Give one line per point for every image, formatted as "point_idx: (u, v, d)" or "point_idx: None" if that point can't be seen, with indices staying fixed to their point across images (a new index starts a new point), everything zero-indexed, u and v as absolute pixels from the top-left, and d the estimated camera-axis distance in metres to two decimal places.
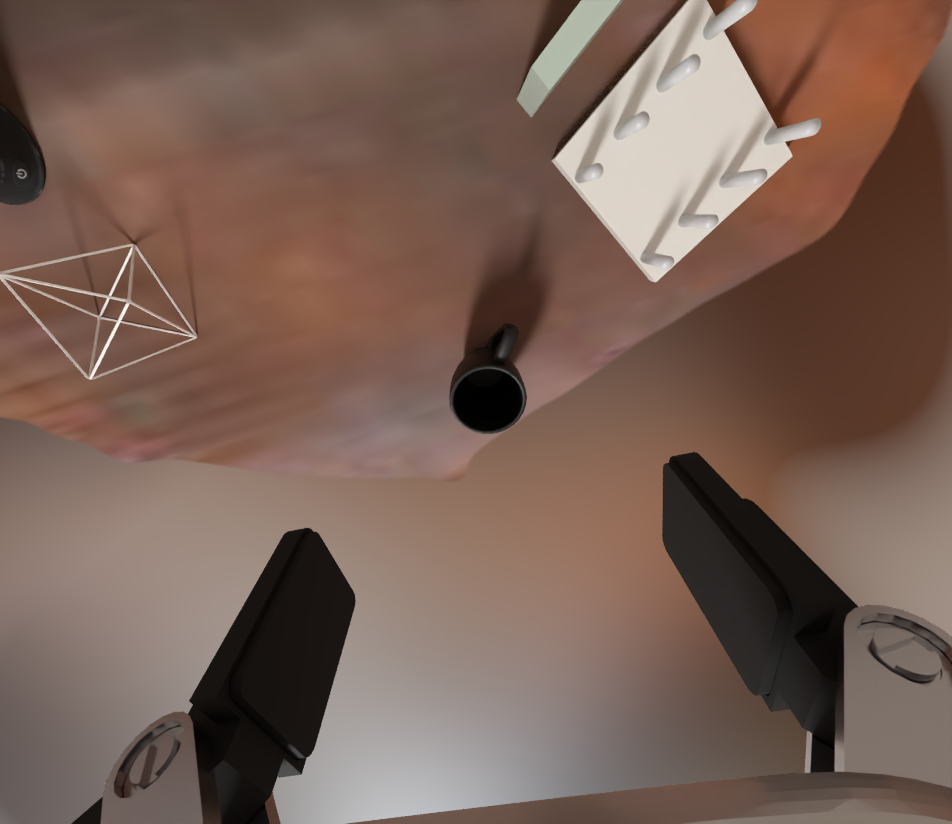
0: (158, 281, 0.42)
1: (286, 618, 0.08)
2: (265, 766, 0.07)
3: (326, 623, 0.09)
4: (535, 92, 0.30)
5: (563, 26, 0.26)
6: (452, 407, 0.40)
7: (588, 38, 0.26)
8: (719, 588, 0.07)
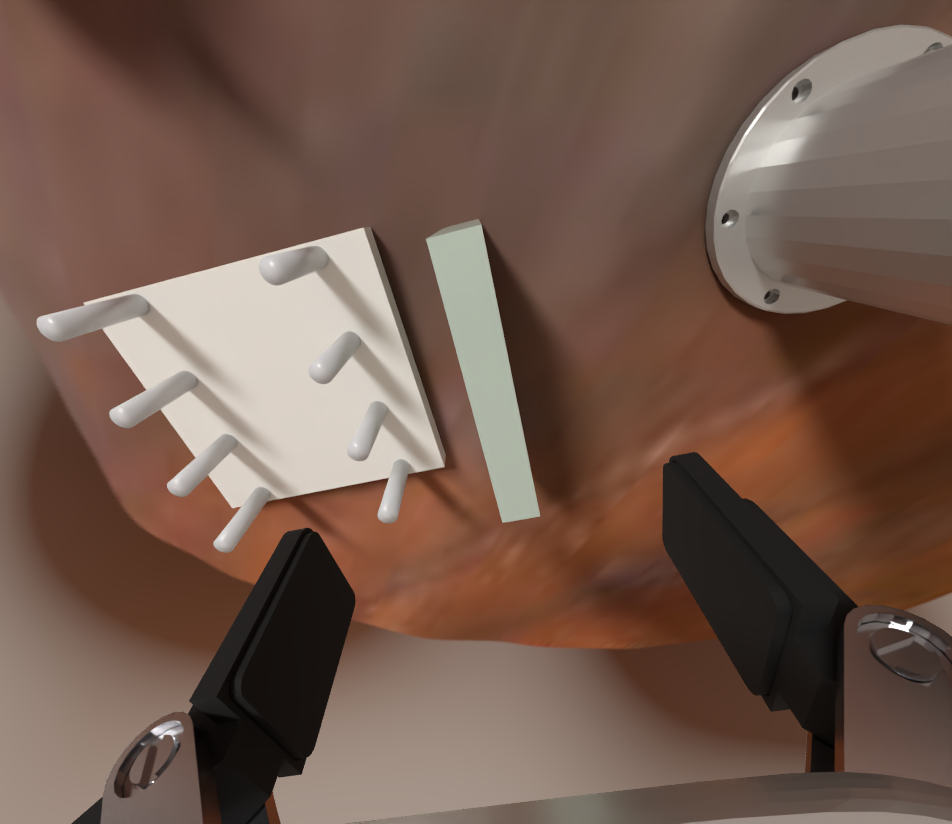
0: None
1: (286, 618, 0.08)
2: (265, 766, 0.07)
3: (326, 623, 0.09)
4: (453, 228, 0.16)
5: (495, 310, 0.14)
6: None
7: (456, 340, 0.15)
8: (719, 588, 0.07)
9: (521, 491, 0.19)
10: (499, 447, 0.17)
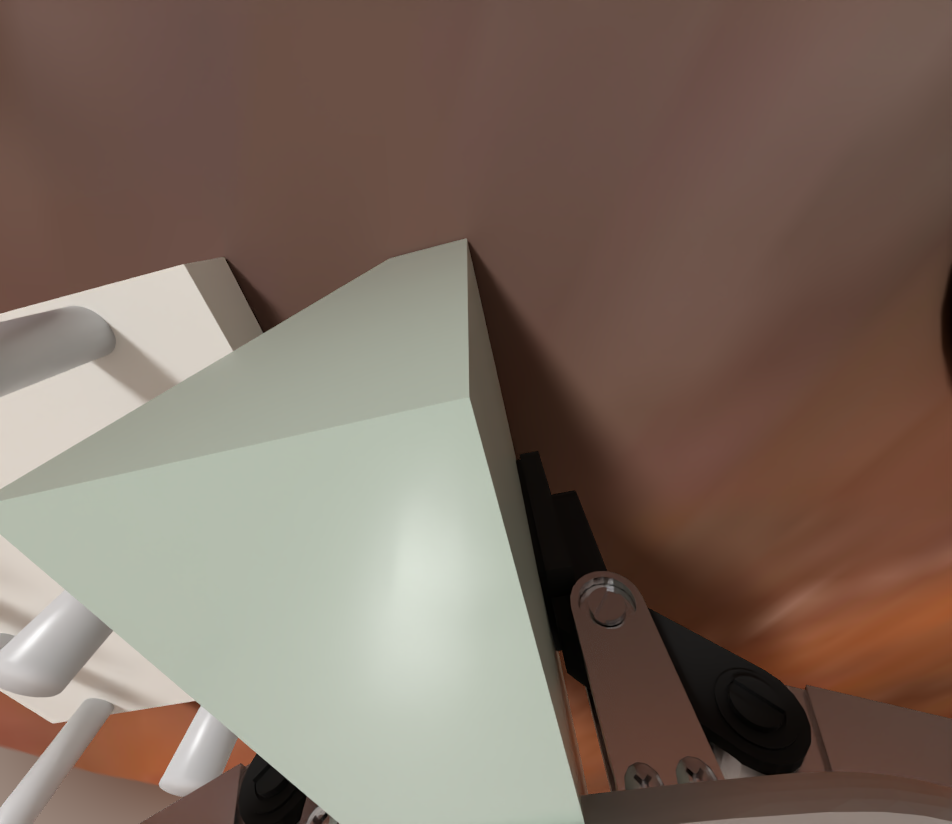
0: None
1: None
2: None
3: None
4: (363, 298, 0.04)
5: (554, 766, 0.03)
6: None
7: None
8: None
9: None
10: None
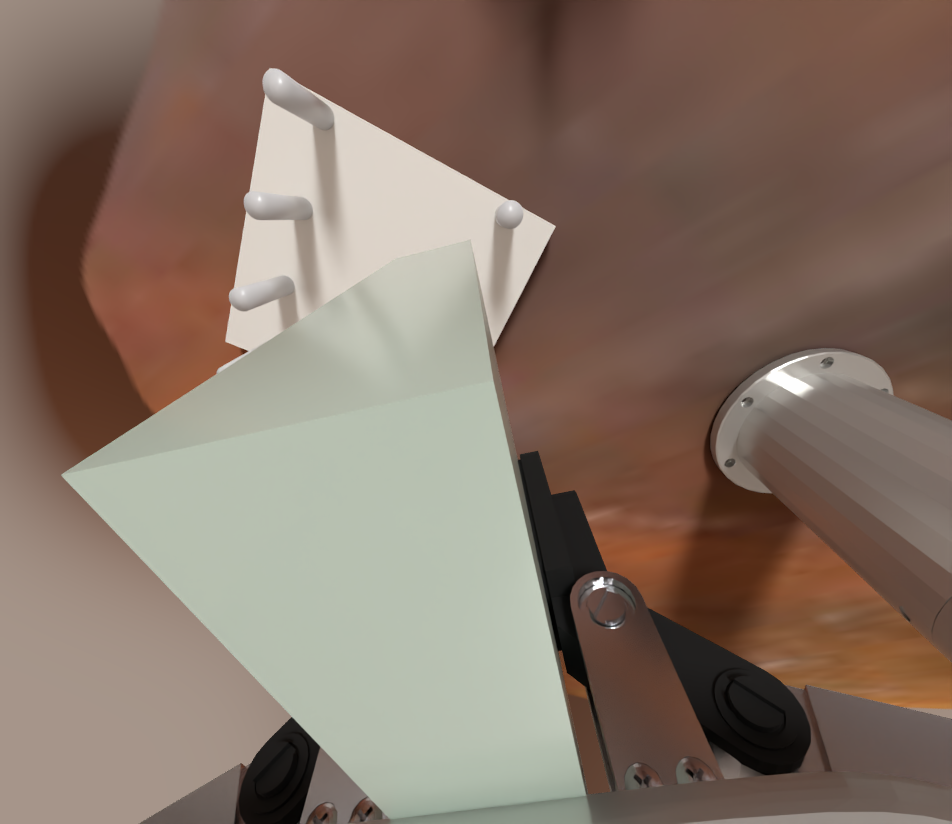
0: None
1: None
2: None
3: None
4: (377, 297, 0.04)
5: (557, 727, 0.03)
6: None
7: (377, 791, 0.03)
8: None
9: None
10: None
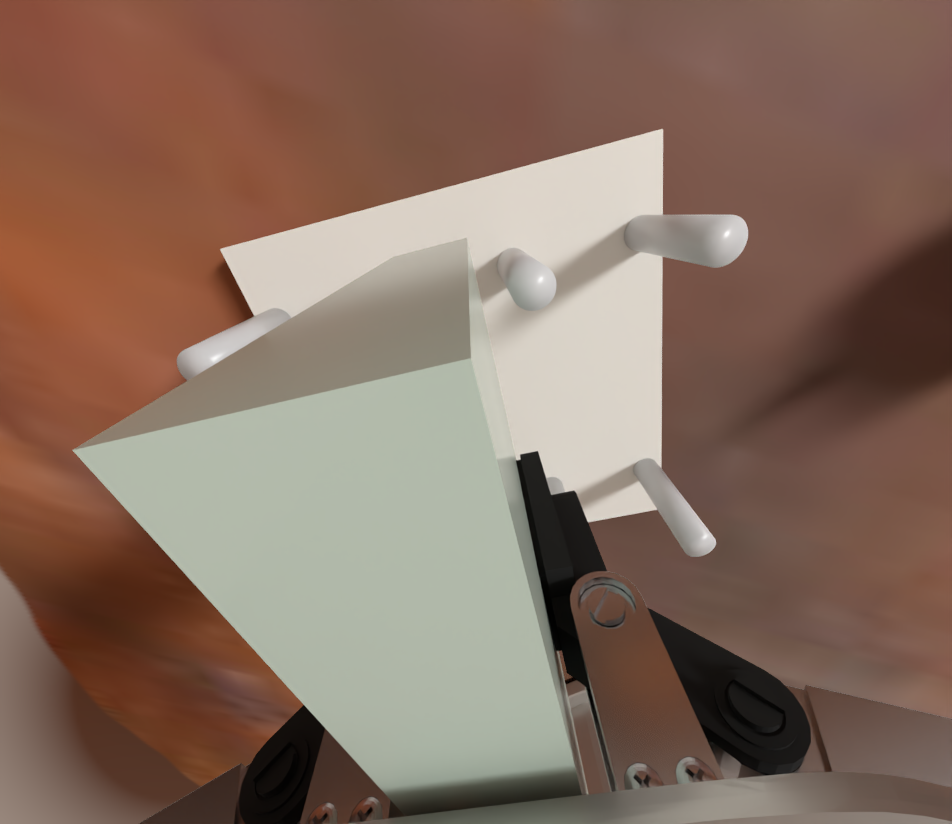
0: None
1: None
2: None
3: None
4: (372, 291, 0.04)
5: (544, 700, 0.03)
6: None
7: (373, 766, 0.04)
8: None
9: None
10: None
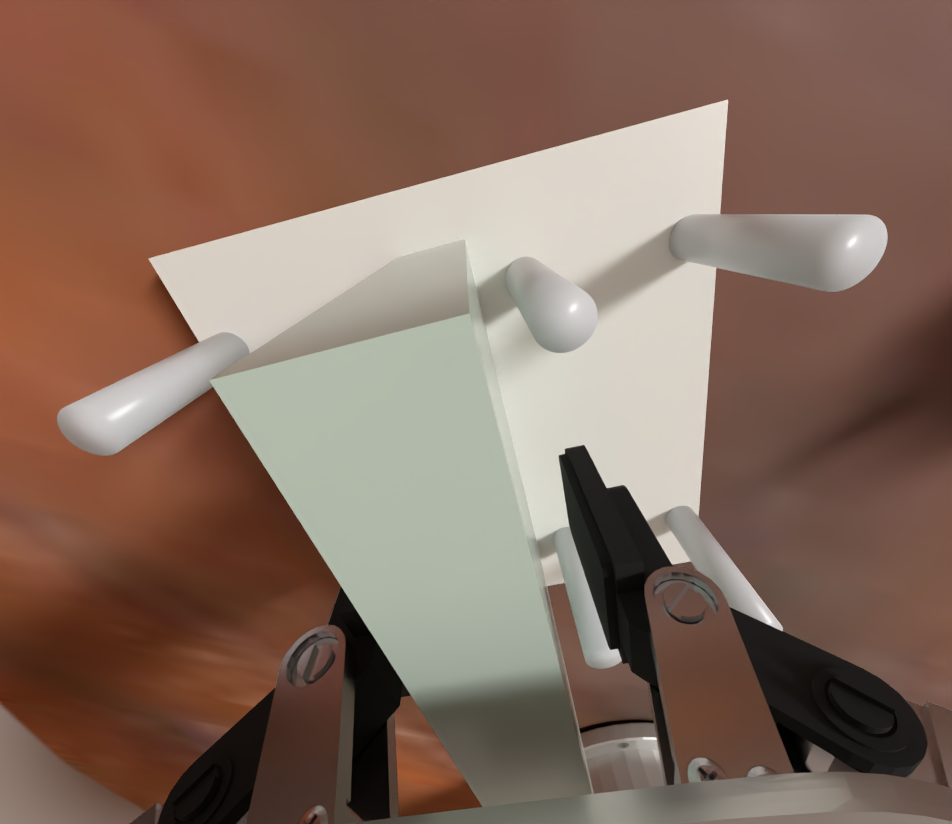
0: None
1: None
2: (394, 679, 0.08)
3: None
4: (388, 284, 0.05)
5: (529, 589, 0.04)
6: None
7: (397, 657, 0.05)
8: (588, 560, 0.09)
9: None
10: None
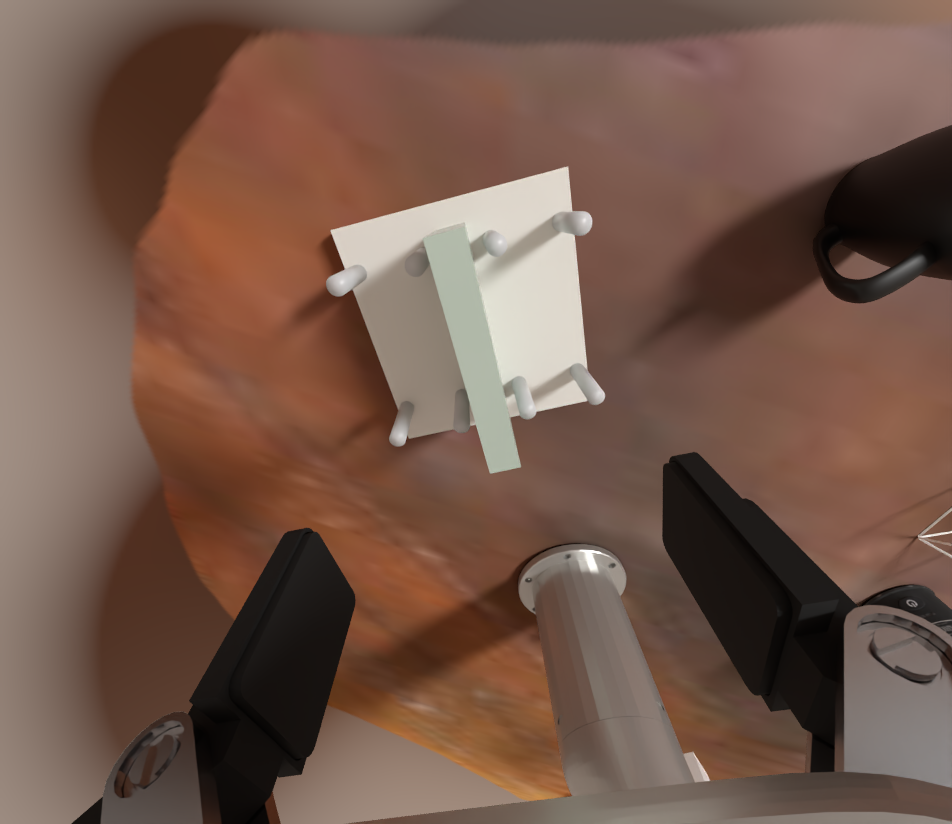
0: (948, 512, 0.41)
1: (286, 618, 0.08)
2: (265, 767, 0.07)
3: (326, 623, 0.09)
4: (443, 230, 0.20)
5: (478, 293, 0.18)
6: None
7: (447, 318, 0.19)
8: (719, 588, 0.07)
9: (504, 445, 0.23)
10: (484, 407, 0.21)
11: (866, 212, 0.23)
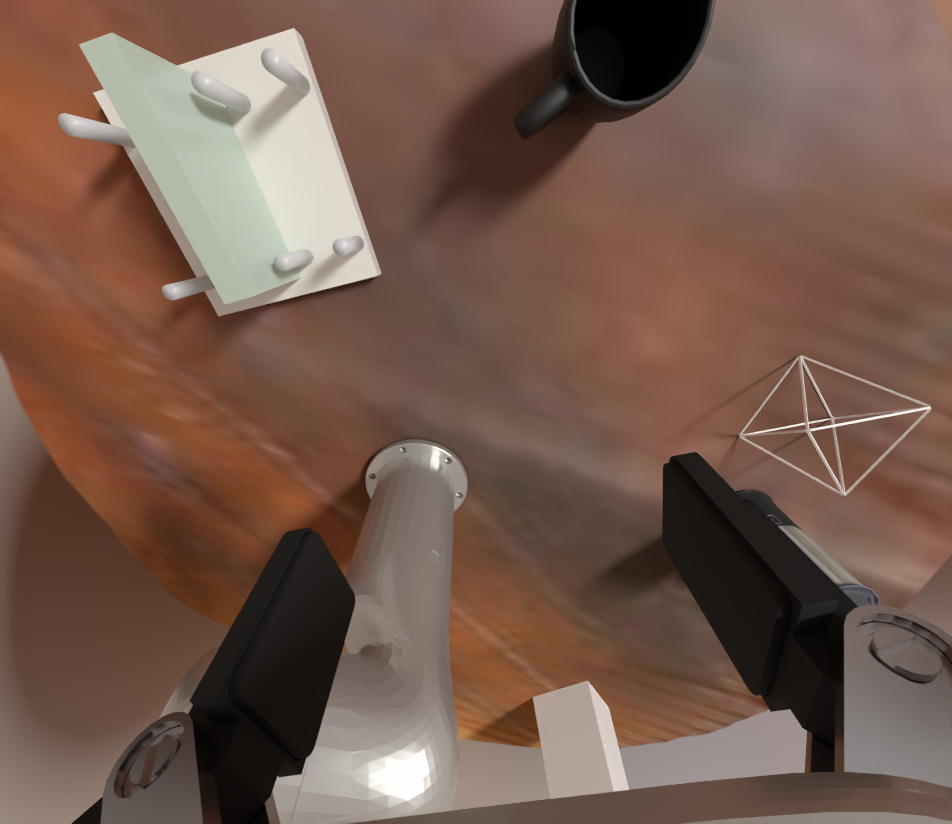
0: (760, 408, 0.43)
1: (286, 618, 0.08)
2: (266, 766, 0.07)
3: (326, 623, 0.09)
4: None
5: (147, 103, 0.21)
6: (695, 54, 0.21)
7: (129, 130, 0.22)
8: (719, 588, 0.07)
9: (226, 271, 0.25)
10: (194, 229, 0.24)
11: (552, 64, 0.25)
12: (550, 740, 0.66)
